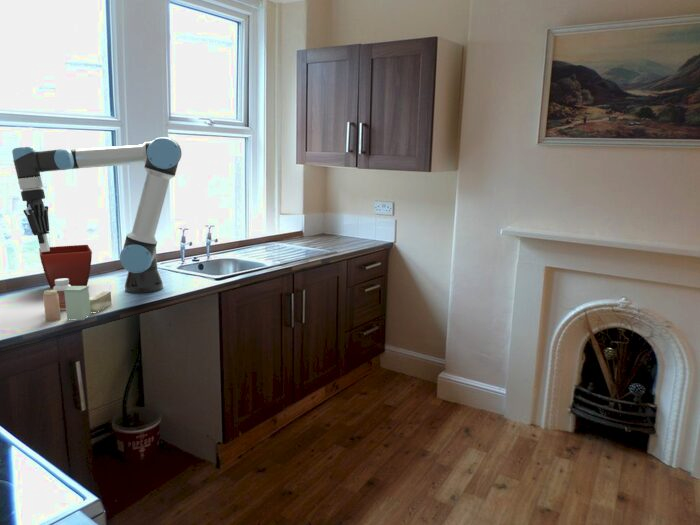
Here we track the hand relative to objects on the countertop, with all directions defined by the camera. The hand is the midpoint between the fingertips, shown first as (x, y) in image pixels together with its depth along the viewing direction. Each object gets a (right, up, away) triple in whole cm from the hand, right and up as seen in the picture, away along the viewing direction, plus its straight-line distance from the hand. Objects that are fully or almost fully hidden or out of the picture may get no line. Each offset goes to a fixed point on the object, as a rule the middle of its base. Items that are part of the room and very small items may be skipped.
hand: (45, 251), depth 211 cm
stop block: (+23, -21, -5) cm, 32 cm away
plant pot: (-4, -15, +26) cm, 31 cm away
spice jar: (+13, -24, -18) cm, 33 cm away
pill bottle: (+10, -22, -5) cm, 24 cm away
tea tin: (+21, -24, -16) cm, 35 cm away
